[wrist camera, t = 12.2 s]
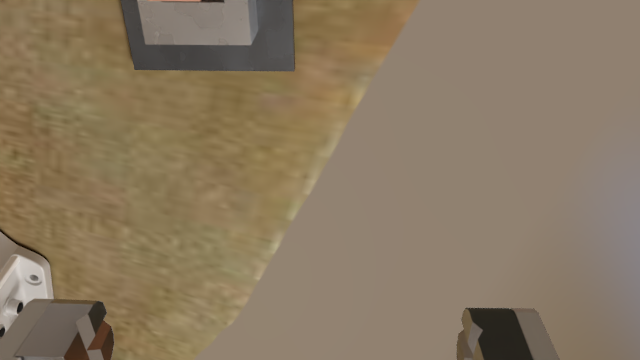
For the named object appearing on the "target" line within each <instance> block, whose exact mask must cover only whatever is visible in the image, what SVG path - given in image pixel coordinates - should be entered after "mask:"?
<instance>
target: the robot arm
mask: <svg viewBox="0 0 640 360" xmlns="http://www.w3.org/2000/svg"><path fill="white" fill-rule="evenodd" d="M106 313H107V312H106V309H105V306H104V304H103V302H100V301H90V300H67V299H54V297H53V289H52V280H51V272H50V265H49V263H48V261H47V260H46V259H45V258H43V257H42V256H40V255H38V254H36V253H34V252H32V251H30V250H28V249H25V248H23V247H21V246H18V245H17V244H15V243H14V242H13V241H11V240H10V239H9V238H7V237H6V236H5V235H4V234H2V233H1V232H0V360H111V357H112V353H113V347H114V334H113V331H112V327H111V326H110V325H109V324H107V323H106V322H105V321H104V320H103V319H104V317H105V315H106ZM461 320H462V325H463V328H464V330H463V331H462V332H460V333H459V335H458V340H457V360H560V359H559V357H558V355H557V353H556V350H555V348H554V346H553V344H552V342H551V339H550V337H549V335H548V333H547V331H546V329H545V326H544V324H543V322H542V320H541V318H540V316H539V313H538V312H537V311H536V310H535V309H526V308H511V309H509V308H465V310H464V311H463V315H462V319H461Z"/></svg>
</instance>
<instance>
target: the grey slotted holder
mask: <svg viewBox="0 0 640 360" xmlns="http://www.w3.org/2000/svg"><path fill="white" fill-rule="evenodd" d="M121 4H122V9H123V14H124V19H125V24H126V29H127V34H128V39H129V44H130V49H131V54H132V59H133V64H134V69H135V70H208V71H294V70H295V50H294V14H293V0H201V1H147V0H121Z"/></svg>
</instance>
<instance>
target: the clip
mask: <svg viewBox="0 0 640 360" xmlns="http://www.w3.org/2000/svg"><path fill="white" fill-rule="evenodd" d="M147 1H201V0H147Z"/></svg>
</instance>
